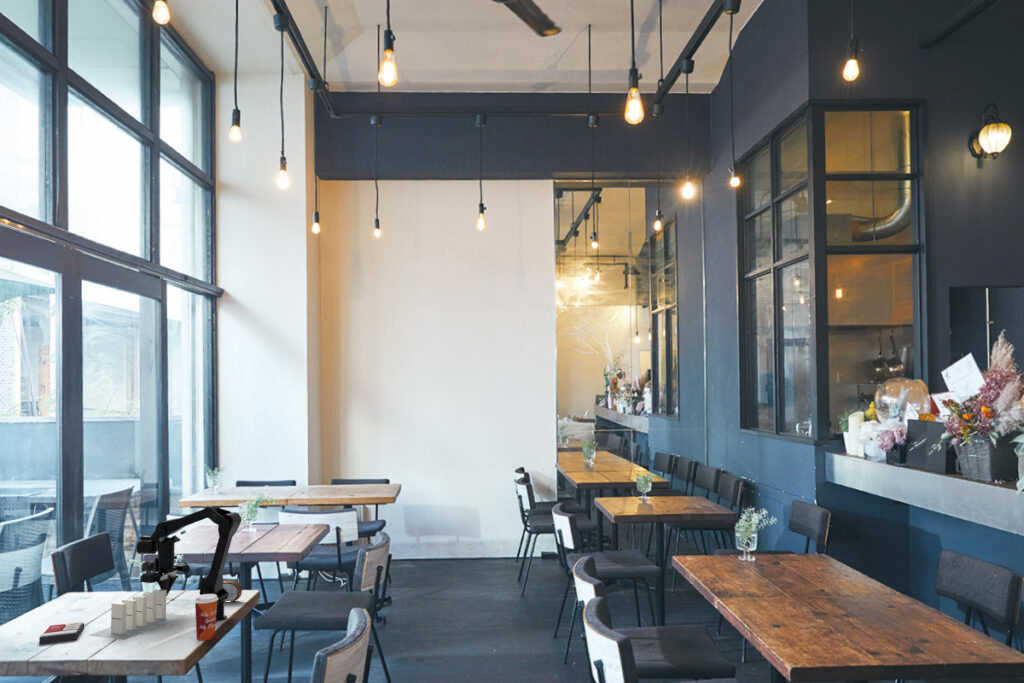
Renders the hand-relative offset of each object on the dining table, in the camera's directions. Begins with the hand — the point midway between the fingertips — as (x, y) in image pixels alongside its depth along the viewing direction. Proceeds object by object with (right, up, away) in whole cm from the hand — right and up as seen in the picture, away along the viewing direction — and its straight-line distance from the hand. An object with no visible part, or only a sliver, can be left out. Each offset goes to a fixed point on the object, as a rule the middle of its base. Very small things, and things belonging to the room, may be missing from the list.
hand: (165, 596), depth 273 cm
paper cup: (+26, -6, -24) cm, 36 cm away
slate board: (-4, -7, -12) cm, 14 cm away
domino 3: (-4, -6, -12) cm, 14 cm away
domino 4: (-2, -7, -7) cm, 10 cm away
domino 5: (-1, -7, -3) cm, 8 cm away
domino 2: (-5, -6, -16) cm, 18 cm away
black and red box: (-25, -7, -23) cm, 34 cm away
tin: (+13, -10, +21) cm, 26 cm away
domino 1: (-7, -6, -20) cm, 22 cm away
